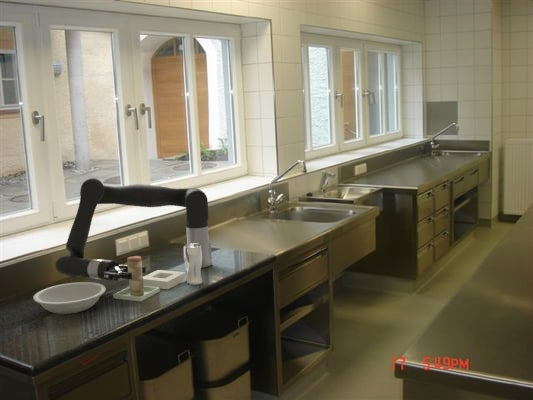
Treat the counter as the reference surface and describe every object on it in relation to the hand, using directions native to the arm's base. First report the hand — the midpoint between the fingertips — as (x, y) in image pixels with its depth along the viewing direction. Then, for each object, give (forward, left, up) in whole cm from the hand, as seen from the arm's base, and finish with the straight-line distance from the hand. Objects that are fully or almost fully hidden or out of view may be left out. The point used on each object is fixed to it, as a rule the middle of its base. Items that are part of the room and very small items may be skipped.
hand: (138, 273), depth 229 cm
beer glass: (-23, -1, -9) cm, 25 cm away
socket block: (-13, -8, -9) cm, 18 cm away
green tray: (+1, -1, -9) cm, 9 cm away
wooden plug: (+1, -1, -8) cm, 9 cm away
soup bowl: (+25, -2, -9) cm, 26 cm away
